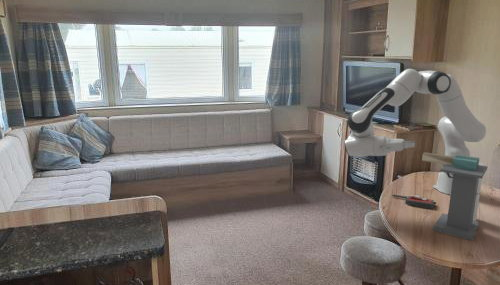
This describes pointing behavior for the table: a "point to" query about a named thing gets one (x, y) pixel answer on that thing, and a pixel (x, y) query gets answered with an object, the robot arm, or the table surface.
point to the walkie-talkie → (417, 201)
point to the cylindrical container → (477, 196)
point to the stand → (461, 203)
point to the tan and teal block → (453, 160)
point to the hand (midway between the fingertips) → (415, 144)
